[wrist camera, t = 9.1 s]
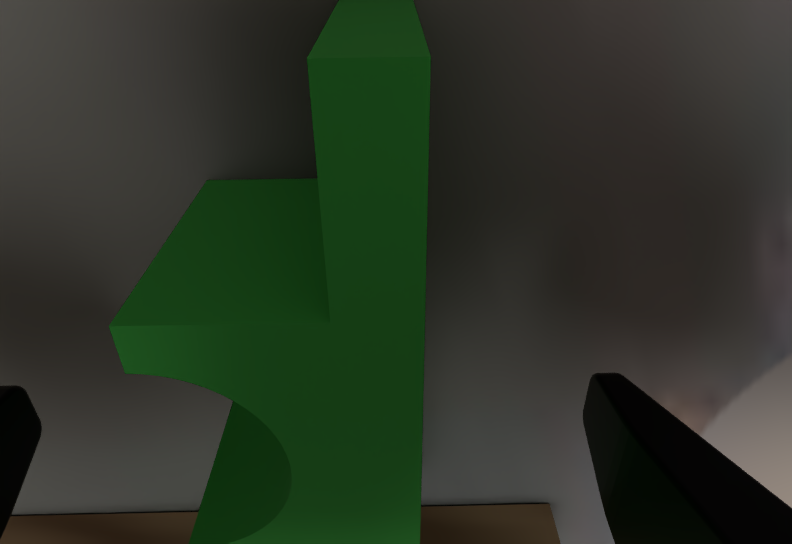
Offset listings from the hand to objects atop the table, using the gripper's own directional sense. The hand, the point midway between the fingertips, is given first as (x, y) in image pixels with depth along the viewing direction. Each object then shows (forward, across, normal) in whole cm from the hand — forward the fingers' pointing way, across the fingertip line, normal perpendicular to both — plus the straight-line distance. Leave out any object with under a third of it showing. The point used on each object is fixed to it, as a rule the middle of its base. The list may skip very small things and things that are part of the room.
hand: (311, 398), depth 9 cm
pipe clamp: (+3, 0, 0) cm, 3 cm away
